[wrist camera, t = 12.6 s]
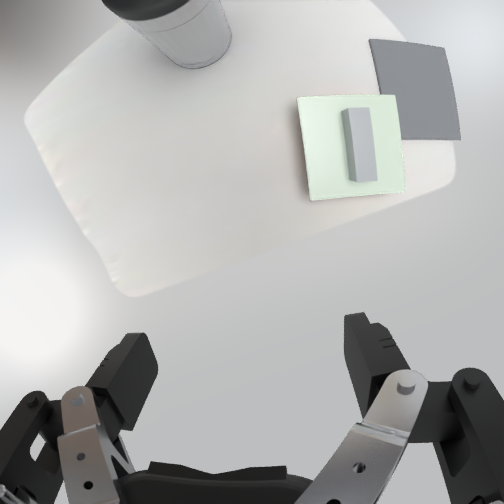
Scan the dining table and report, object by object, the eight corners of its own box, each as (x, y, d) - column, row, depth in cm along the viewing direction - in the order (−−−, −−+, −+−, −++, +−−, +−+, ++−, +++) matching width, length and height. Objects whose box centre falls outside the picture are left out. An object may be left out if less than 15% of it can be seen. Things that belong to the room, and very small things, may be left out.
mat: (368, 40, 31) (370, 38, 30) (442, 48, 30) (444, 47, 29) (387, 139, 36) (388, 139, 35) (458, 140, 34) (460, 140, 34)
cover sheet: (296, 98, 30) (299, 92, 27) (392, 96, 29) (405, 90, 26) (309, 199, 34) (314, 205, 31) (402, 191, 33) (416, 196, 29)
